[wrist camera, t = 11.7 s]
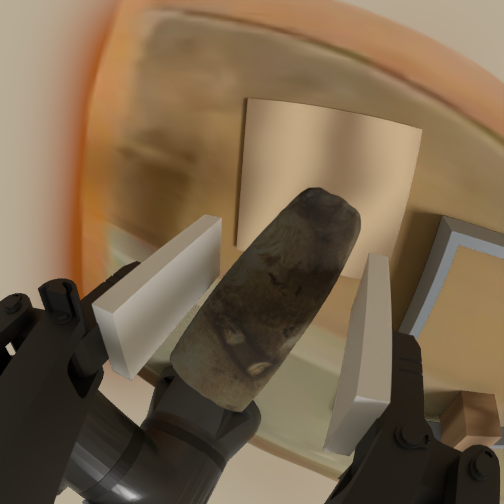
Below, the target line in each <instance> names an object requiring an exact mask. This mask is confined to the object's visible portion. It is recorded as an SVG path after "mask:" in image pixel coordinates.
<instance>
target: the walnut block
mask: <svg viewBox="0 0 504 504" xmlns="http://www.w3.org/2000/svg"><path fill="white" fill-rule="evenodd" d="M440 430H441V442H442V443H443V444H446V445H448V446H450V447H452V448H455V449H457V450H459V451H461V452H463V451H464V450H465V449H467V448H469V447H470V446H472V445H478V444H481V445H484V446H487V447H489V448H490V447H491V446H493V445H494V444H495V443H496V442H497V441H498V440H499V439H500V438H501V437H502V434H501V427H500V421H499V415H498V410H497V405H496V400H495V395H494V394H485V393H477V392H469V391H462V390H461V392H460V393H459V394H458V396H457V397H456V398H455V399H454V400H453V402H452V403H451V404H450V405H449V406H448V408H447V409H446V410H445V411H444V412H443V413H442V415H441V416H440Z"/></svg>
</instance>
